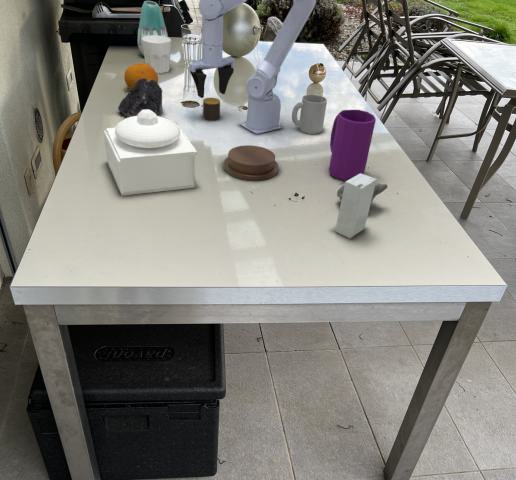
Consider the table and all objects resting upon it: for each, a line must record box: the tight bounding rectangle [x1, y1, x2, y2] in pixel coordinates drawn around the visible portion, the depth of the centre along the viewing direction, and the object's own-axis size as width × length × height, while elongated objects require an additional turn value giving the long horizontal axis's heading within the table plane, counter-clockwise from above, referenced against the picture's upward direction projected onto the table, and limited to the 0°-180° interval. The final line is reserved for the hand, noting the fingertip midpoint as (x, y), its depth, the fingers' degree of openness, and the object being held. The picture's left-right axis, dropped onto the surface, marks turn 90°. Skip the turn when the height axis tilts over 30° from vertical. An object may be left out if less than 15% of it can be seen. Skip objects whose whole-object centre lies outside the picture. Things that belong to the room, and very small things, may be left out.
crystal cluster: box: [117, 78, 163, 118], centre depth 157 cm, size 13×14×10 cm
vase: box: [136, 0, 169, 57], centre depth 197 cm, size 12×12×18 cm
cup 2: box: [291, 94, 328, 135], centre depth 157 cm, size 7×10×9 cm
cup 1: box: [142, 35, 172, 74], centre depth 188 cm, size 10×10×10 cm
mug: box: [328, 109, 377, 182], centre depth 136 cm, size 9×16×15 cm, turn 18°
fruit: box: [123, 62, 159, 90], centre depth 172 cm, size 10×10×8 cm
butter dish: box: [103, 109, 198, 196], centre depth 125 cm, size 18×18×16 cm
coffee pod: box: [202, 97, 221, 122], centre depth 160 cm, size 5×5×5 cm
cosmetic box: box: [334, 173, 377, 239], centre depth 114 cm, size 6×4×12 cm
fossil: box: [336, 182, 388, 204], centre depth 124 cm, size 11×9×8 cm
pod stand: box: [223, 144, 279, 182], centre depth 136 cm, size 14×14×4 cm
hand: (211, 94), depth 157 cm, fingers open, 7 cm apart
